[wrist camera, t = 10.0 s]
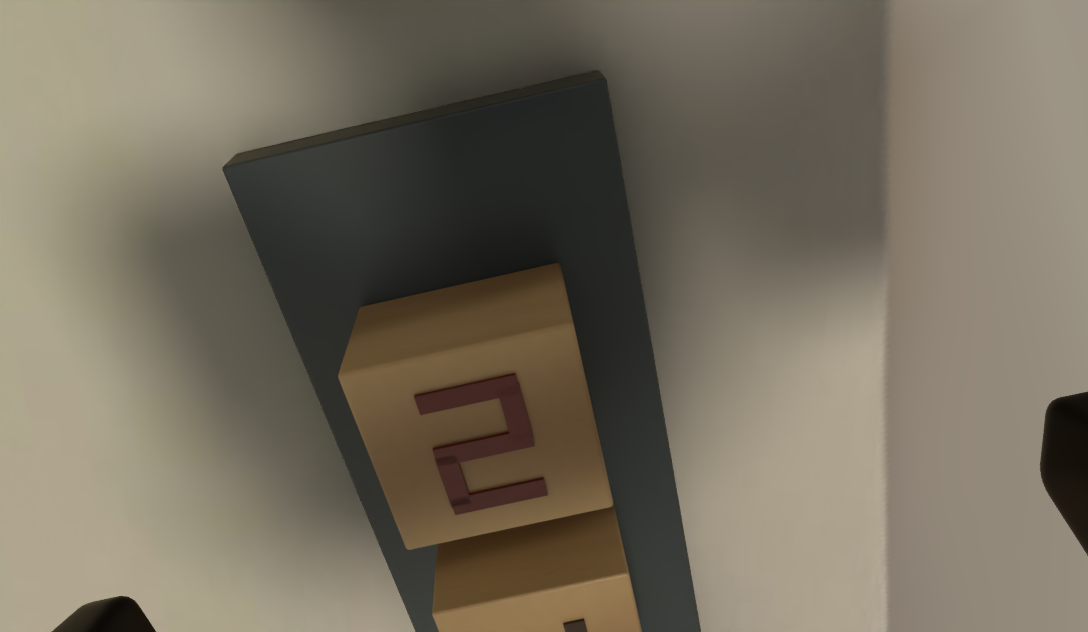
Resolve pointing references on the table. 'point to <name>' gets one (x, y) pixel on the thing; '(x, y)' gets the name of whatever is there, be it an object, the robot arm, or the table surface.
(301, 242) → the word strip
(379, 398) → the number block
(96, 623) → the robot arm
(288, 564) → the table surface
